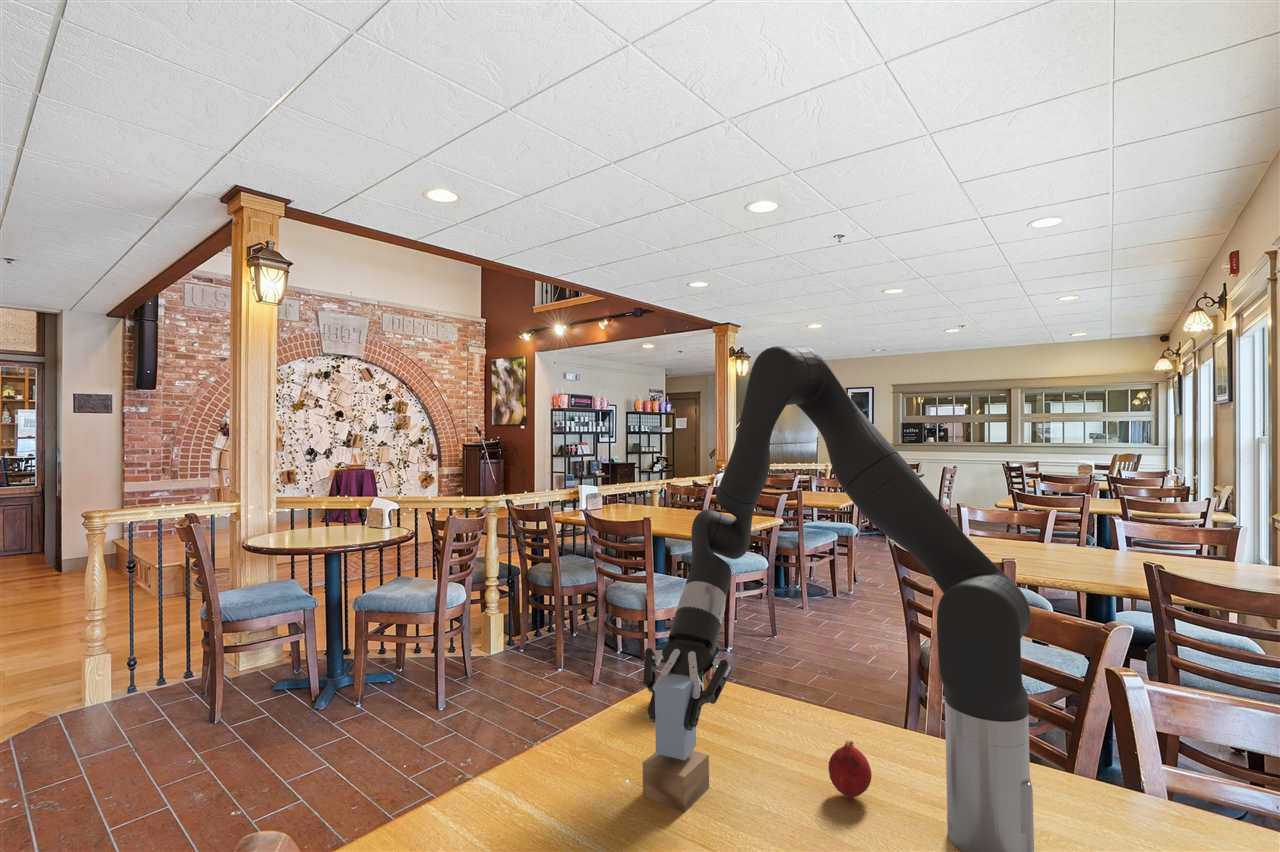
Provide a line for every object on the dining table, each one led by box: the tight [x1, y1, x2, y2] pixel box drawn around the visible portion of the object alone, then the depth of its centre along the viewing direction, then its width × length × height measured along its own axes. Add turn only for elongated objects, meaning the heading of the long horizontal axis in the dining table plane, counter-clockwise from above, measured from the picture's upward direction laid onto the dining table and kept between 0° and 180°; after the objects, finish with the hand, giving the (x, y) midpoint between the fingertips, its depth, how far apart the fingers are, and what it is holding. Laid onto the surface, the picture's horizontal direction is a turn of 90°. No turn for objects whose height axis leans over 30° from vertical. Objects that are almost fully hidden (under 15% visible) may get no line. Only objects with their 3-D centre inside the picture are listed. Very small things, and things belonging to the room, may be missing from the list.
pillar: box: [654, 673, 697, 760], centre depth 90 cm, size 4×4×10 cm
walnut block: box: [642, 749, 710, 813], centre depth 90 cm, size 7×7×5 cm
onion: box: [828, 739, 872, 799], centre depth 88 cm, size 6×6×8 cm
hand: (670, 724), depth 89 cm, fingers open, 4 cm apart
